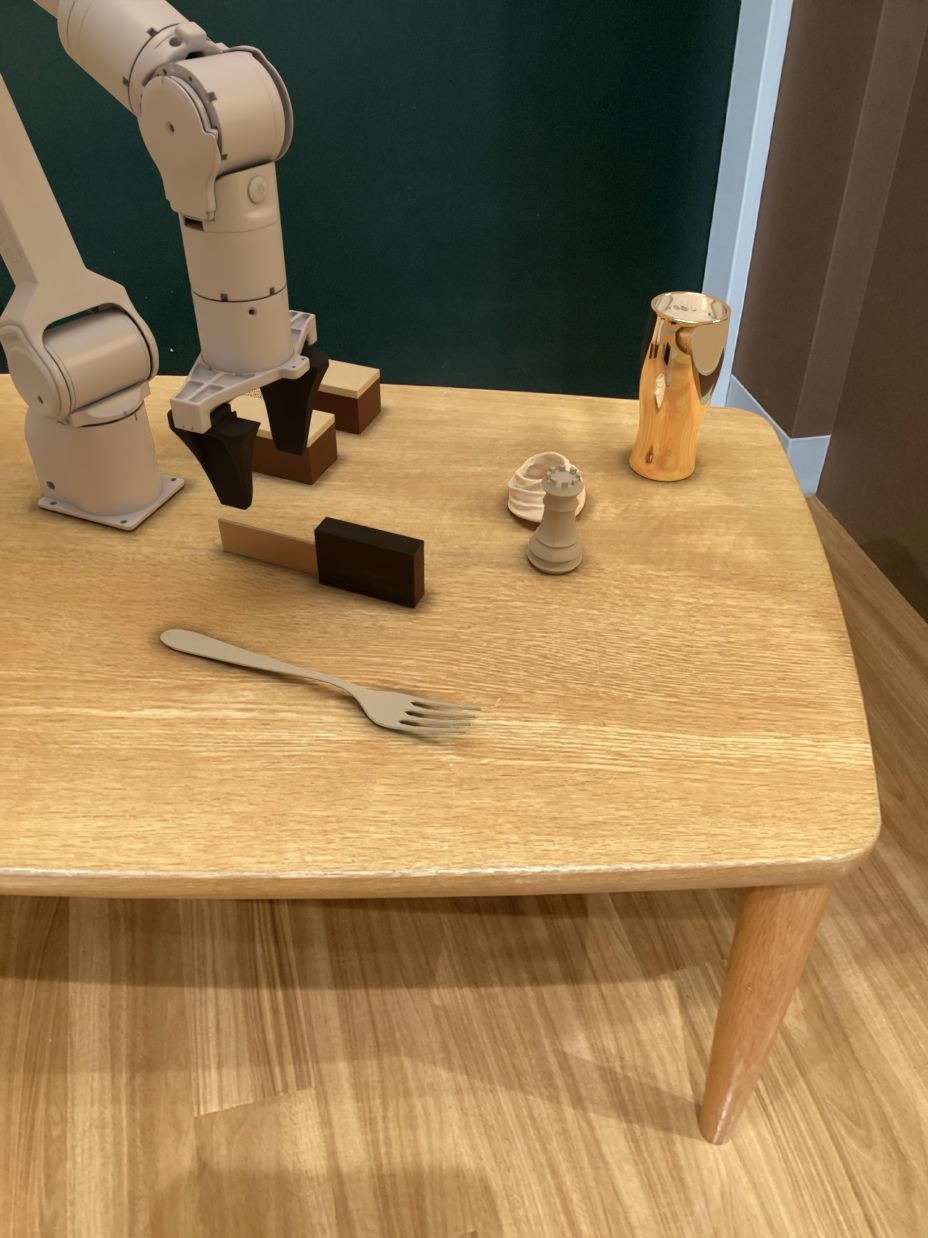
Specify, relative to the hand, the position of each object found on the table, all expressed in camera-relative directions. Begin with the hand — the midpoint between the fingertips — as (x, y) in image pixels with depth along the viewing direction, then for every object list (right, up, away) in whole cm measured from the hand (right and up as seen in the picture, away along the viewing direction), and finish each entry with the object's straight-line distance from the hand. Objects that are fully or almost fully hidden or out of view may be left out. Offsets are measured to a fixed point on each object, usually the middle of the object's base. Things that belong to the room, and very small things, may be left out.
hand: (264, 476), depth 65 cm
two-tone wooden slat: (+3, -7, +7) cm, 10 cm away
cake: (-3, +5, +20) cm, 20 cm away
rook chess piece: (+21, -5, +9) cm, 24 cm away
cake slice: (0, +11, +27) cm, 29 cm away
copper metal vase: (+32, +4, +21) cm, 39 cm away
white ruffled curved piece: (+21, 0, +15) cm, 26 cm away
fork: (+4, -15, -2) cm, 15 cm away
